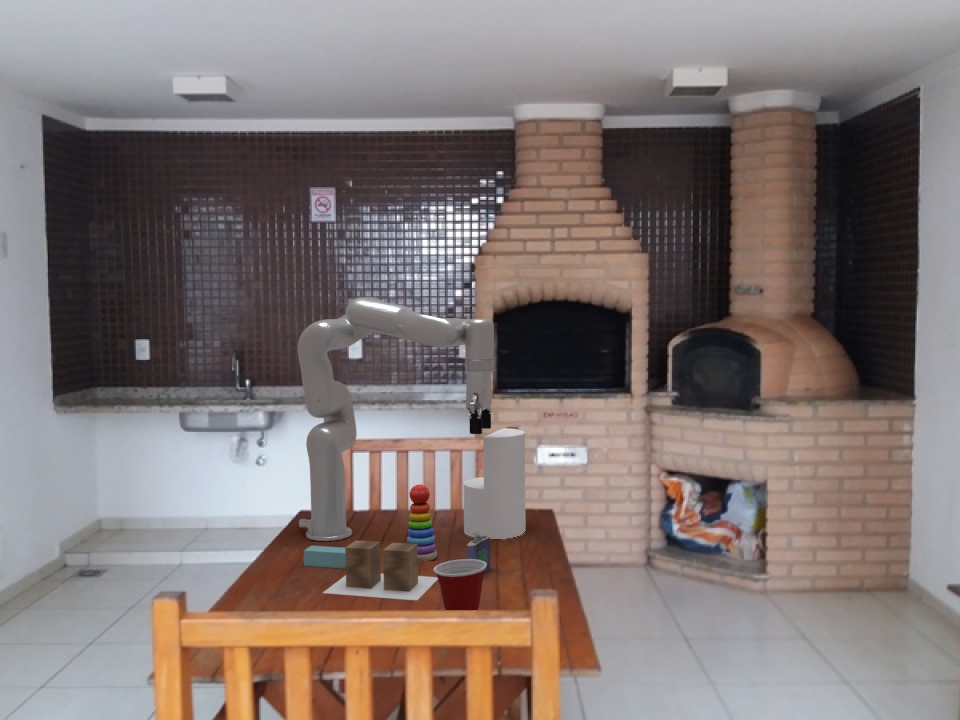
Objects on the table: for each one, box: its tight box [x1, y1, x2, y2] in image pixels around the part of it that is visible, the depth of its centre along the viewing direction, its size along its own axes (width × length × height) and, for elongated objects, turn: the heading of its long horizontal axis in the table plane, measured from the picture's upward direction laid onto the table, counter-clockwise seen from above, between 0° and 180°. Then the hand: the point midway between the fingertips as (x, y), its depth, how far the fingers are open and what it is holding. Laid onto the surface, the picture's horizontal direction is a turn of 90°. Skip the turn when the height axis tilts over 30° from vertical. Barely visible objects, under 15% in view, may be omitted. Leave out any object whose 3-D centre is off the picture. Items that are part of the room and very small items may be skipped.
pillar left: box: [344, 539, 382, 589], centre depth 202 cm, size 6×6×9 cm
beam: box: [303, 545, 346, 570], centre depth 217 cm, size 16×4×5 cm, turn 76°
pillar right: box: [382, 542, 419, 592], centre depth 200 cm, size 6×6×9 cm
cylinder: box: [463, 427, 527, 540], centre depth 249 cm, size 17×17×28 cm
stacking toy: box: [407, 483, 438, 562], centre depth 225 cm, size 8×8×19 cm
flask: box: [466, 532, 491, 574], centre depth 209 cm, size 9×3×11 cm, turn 151°
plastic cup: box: [433, 558, 487, 611], centre depth 180 cm, size 11×11×12 cm
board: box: [322, 572, 439, 601], centre depth 202 cm, size 22×16×1 cm
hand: (480, 431), depth 234 cm, fingers open, 9 cm apart
